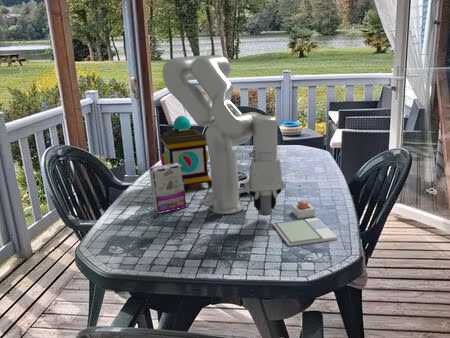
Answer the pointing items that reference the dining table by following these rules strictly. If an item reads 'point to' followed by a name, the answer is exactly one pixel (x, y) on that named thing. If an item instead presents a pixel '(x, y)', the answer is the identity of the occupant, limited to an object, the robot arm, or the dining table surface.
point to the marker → (265, 203)
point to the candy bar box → (167, 187)
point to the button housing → (303, 211)
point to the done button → (303, 205)
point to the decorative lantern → (186, 151)
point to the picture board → (304, 231)
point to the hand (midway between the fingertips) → (264, 207)
